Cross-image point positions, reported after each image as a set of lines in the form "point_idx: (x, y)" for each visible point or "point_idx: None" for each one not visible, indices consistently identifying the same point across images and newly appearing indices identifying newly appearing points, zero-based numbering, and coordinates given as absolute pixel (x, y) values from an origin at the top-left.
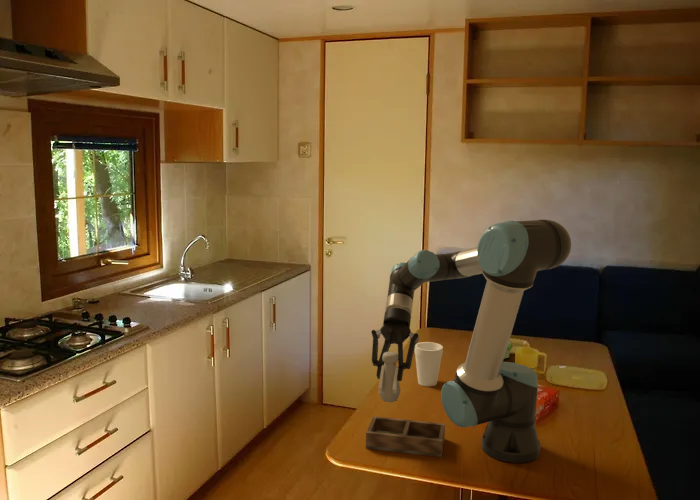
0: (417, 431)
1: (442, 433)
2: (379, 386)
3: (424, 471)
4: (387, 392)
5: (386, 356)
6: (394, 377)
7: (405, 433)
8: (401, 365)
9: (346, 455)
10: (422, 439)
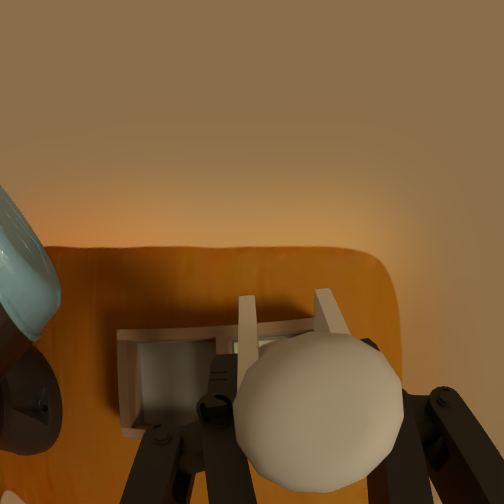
0: None
1: (120, 376)
2: (327, 292)
3: (165, 261)
4: (288, 338)
5: (350, 338)
6: (253, 338)
7: (219, 348)
8: (206, 397)
9: (355, 272)
10: (167, 329)
